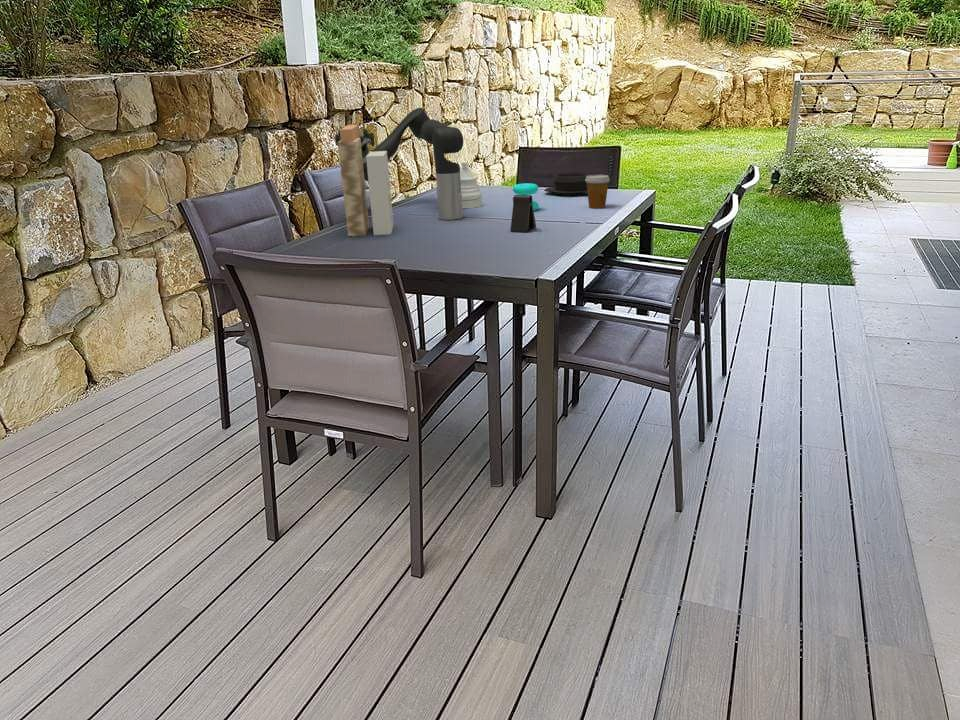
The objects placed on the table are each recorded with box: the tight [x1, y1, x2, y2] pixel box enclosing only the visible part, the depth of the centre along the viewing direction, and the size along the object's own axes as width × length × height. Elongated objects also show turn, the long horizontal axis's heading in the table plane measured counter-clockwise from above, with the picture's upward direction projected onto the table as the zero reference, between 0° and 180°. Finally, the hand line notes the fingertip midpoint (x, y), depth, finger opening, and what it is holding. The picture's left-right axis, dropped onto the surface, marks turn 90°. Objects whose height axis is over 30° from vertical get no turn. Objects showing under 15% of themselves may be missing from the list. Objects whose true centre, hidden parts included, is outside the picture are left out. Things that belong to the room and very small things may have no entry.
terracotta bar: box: [339, 124, 361, 142], centre depth 262 cm, size 4×24×4 cm, turn 3°
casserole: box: [543, 171, 590, 197], centre depth 326 cm, size 25×19×8 cm
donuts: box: [512, 182, 539, 212], centre depth 293 cm, size 10×10×10 cm
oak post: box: [337, 138, 370, 237], centre depth 264 cm, size 6×16×32 cm, turn 3°
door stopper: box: [510, 194, 537, 234], centre depth 257 cm, size 9×6×12 cm, turn 153°
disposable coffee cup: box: [585, 174, 611, 210], centre depth 292 cm, size 10×10×12 cm
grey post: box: [366, 151, 394, 236], centre depth 265 cm, size 6×16×27 cm, turn 3°
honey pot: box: [460, 161, 483, 210], centre depth 307 cm, size 13×13×18 cm
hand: (352, 131), depth 271 cm, fingers open, 8 cm apart
